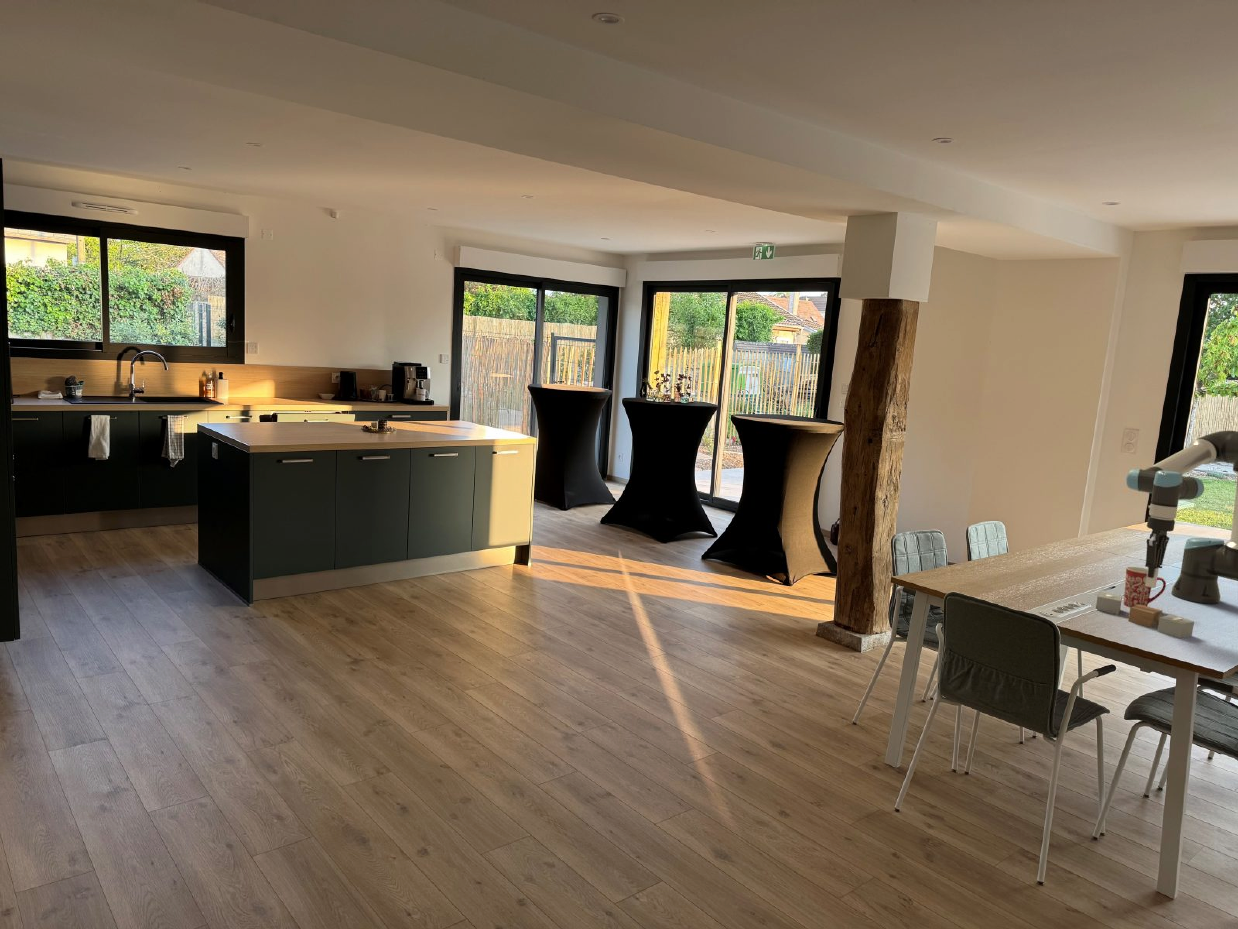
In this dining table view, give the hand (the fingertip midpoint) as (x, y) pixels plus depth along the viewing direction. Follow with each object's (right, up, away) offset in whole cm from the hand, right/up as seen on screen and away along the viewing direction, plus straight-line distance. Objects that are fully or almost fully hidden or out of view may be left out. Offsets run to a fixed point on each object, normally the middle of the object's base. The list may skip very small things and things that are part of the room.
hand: (1150, 586), depth 276 cm
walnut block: (-1, -13, +2) cm, 13 cm away
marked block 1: (-6, -10, +14) cm, 19 cm away
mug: (+9, -11, +20) cm, 24 cm away
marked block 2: (+3, -14, -8) cm, 16 cm away
